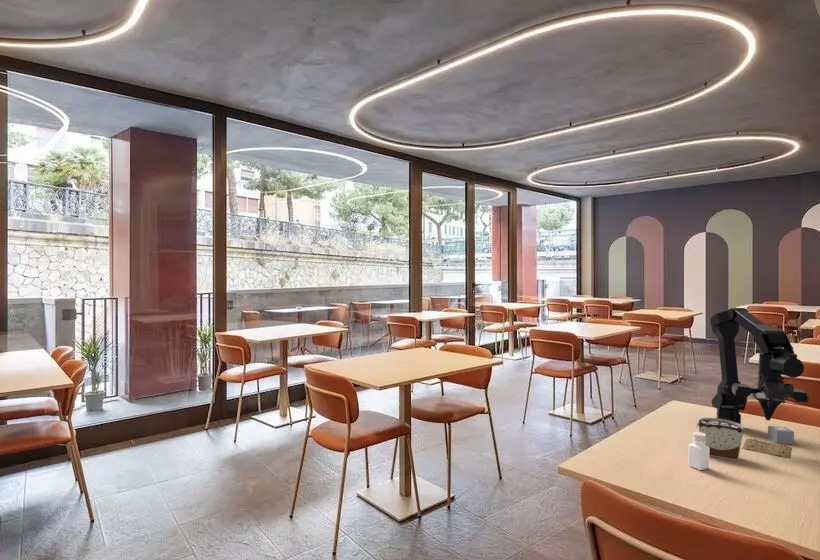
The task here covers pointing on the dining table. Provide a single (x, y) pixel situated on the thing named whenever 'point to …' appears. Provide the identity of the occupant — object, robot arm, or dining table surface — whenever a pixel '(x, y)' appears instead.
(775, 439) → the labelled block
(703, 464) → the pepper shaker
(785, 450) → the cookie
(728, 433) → the food container
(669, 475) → the dining table surface
